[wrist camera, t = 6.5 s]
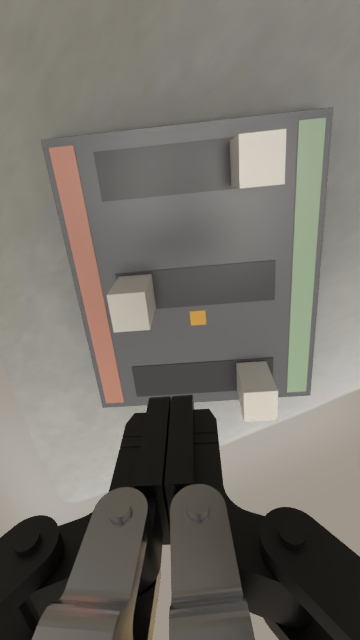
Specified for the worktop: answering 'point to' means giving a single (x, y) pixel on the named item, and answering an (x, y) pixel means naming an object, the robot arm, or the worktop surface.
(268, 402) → the handle outer
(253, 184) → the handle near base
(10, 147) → the worktop surface
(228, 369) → the breaker panel
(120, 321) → the handle
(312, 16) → the worktop surface
